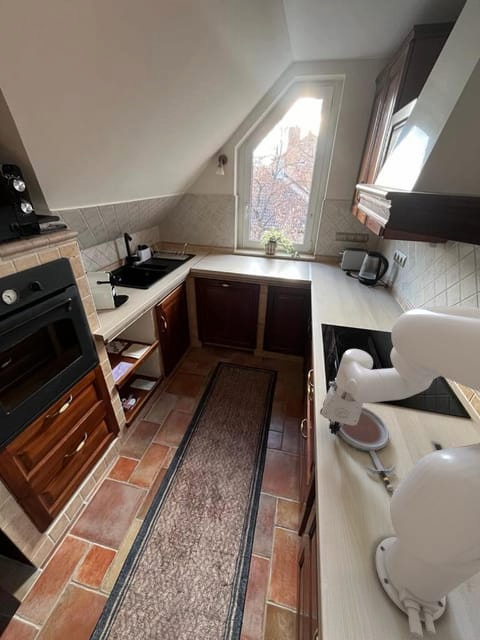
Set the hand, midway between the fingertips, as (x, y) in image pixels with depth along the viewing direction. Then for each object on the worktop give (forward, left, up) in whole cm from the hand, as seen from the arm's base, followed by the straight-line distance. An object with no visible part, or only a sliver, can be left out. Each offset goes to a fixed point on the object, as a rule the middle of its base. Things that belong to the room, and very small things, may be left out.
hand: (333, 430), depth 82 cm
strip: (+2, -32, -2) cm, 32 cm away
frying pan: (0, -10, -2) cm, 11 cm away
